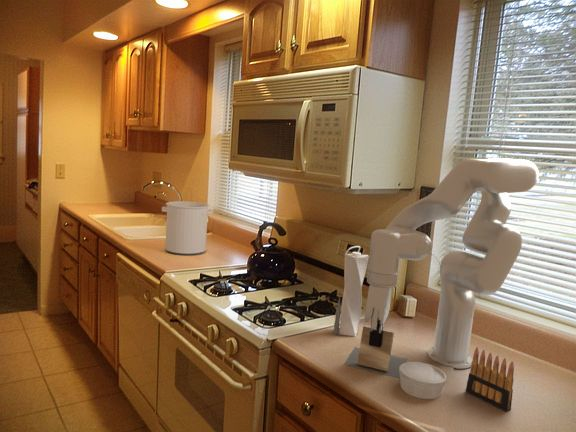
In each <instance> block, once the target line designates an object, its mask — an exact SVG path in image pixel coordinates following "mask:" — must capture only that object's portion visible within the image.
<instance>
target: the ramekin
mask: <svg viewBox="0 0 576 432" xmlns="http://www.w3.org/2000/svg"><path fill="white" fill-rule="evenodd" d="M399 373H400V378H399V379H400V380H399V382H400V383H399V384H400V388H401V389H402V391H404V392H405V393H406V394H408V395H409V396H412V397H414V398H418V399H422V400H423V399H424V400H435V399H437V398H439V397H440V396H441V395H442V392H443V389H444V387H445V384H446V383H447V379H448V377H447V374H446V373H445V372H444V371H443V370H442V369H440V368H439V367H437V366H435V365H432V364H429V363H426V362H421V361H406V363H403V364H401V365H400V367H399Z"/></svg>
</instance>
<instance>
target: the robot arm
mask: <svg viewBox="0 0 576 432" xmlns="http://www.w3.org/2000/svg"><path fill="white" fill-rule="evenodd" d="M538 169H539V168H538V167H537V165H536V164H535V163H534V162H532V161H530V160H527V159H517V158H505V157H504V158H502V157H500V158H499V157H490V158H486V159H484V158H465V159H461V160H460V161H459V162H457V163H456V164H455V165H454V167H452V169H451V170H450V171H449V173H447V175H446V176H445V177H444V178H443V179H442V180H441V182H440V183H439V184H438V185H437V186H436V187H435V188H434V189H433V191H432V192H431V193H430V194H428V195H427V196H425V197H423V198H421V199H418V200H416V201H415V202H414V203H411V204H410V205H408V206H406V207H405V208H404V209H402V210H401V211H399V212H398V214H396V216H395V217H394V218H393V219H392V220H391V221H390V222H389V224H388V225H387V227H386V228H384V229H382V228H381V229H376V230H374V231H372V233H371V237H370V246H369V247H370V249H369V255H368V256H369V258H368V265H367V278H366V283H368V284H369V286H368V292H367V298H366V305H365V313H364V318H363V319H364V320H363V321H364V322H365V323H368V322H369V321H370V327H371V330H370V337H369V345H370V346H375V347H379V348H380V347H381V346H382V340H383V330H384V326H385V322H386V320H387V318H388V316H389V314H390V308H391V301H392V299H391V297H392V290H393V288H395V287H397V283H398V274H399V266H400V265H399V263H400V260H409V261H422V260H424V259H426V258H428V257H429V255H430V254H431V253H432V249H433V243H432V239H431V238H430V237H429V236H428V235H427V234H426V233H424V232H422V231H418V230H416V229H418V228H420V227H421V226H423V225H425V224H427V223H431V222H435V221H439V220H444V219H449V218H452V217H454V216H456V215H457V214H458V213H459V212H460V210H461V209H462V208H463V207H464V205H465V204H466V203H467V202H468V201H469V200H470V198H472V196H473V195H474V194H475V193H477V192H481V193H480V194H481V195H480V197H481V198H480V202H479V205H478V206H477V208H476V210H475V212H474V213H473V216H472V217H471V219H470V221H469V222H468V224H467V226H466V228H465V230H464V232H463V235H462V238H461V239H462V240H461V241H462V244H463V245H464V247H465V248H466V249H468V250H470V251H472V252H474V253H478V254H481V255H485V256H484V257H480V256H478V255H476V254H472V253H469V252H464V251H459V250H453V251H449V252H448V253H446V254H445V255H444V256H443V257H442V259H441V262H440V265H439V275H440V276H439V277H440V292H439V293H440V294H439V303H438V308H437V309H438V311H437V319H436V325H435V326H436V327H435V333H434V342H433V346H432V347H430V348H428V350H427V353H426V354H427V356H428V357H429V359H431V360H432V361H434V362H435V363H438V364H440V365H442V366H447V367H451V368H453V369H457V370H458V369H459V370H463V369H469V368H471V363H472V360H473V357H472V356H471V355H470V354H469V350H470V345H471V336H472V328H473V323H474V314H475V308H476V297H475V294H477V295H480V296H481V295H482V296H485V297H487V296H493V295H494V294H496V293H497V292H498V291H499V290H500V289H501V287H502V286H503V284H504V283H505V280H506V279H507V277H508V275H509V273H510V271H511V269H512V268H513V265H514V264H515V262H516V260H517V259H518V257H519V254H520V253H521V249H522V244H523V241H522V240H523V238H522V235H521V232H520V230H518V228H516V227H514V226H513V225H510V224H507V221H508V219H509V218H510V215H511V212H512V202H511V199H510V196H509V194H514V193H515V194H516V193H523V192H527V191H530V190H531V189H532V188H534V186H535V185H536V184H537V182H538V180H539V170H538ZM474 293H475V294H474Z"/></svg>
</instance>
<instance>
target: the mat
mask: <svg viewBox="0 0 576 432" xmlns="http://www.w3.org/2000/svg"><path fill="white" fill-rule="evenodd" d="M359 350H360V347H356V346H354V348H353V350H352V351H351V353H350V354H349V356H348V357H347V359H346V360H345V361H344V363H343V365H345V366H348V367H352V368H355V369H360V370H364V371H367V372H372V373H376V374H379V375H380V374H381V375H385V376H388V377H391V378H396V379H400V373H399V367H400V365H401V364H403V363H406V362H408V358H404V357H400V356H395V355H392V354H391V357H390V363H389V370H388V371H384V370H380V369H376V368H372V367H368V366H364V365H359V364H357V362H358V356H359Z"/></svg>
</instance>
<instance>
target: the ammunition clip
mask: <svg viewBox="0 0 576 432" xmlns="http://www.w3.org/2000/svg"><path fill="white" fill-rule="evenodd" d="M479 355H480V357H479ZM472 359H473V360H472V363H471V367H470V369H469V372H468V376H467V383H466V388H465V393H467V394H469V395H471V396H472V397H475V398H477V399H479V400H480V401H484V402H486V403H487V404H490V405H491V406H493V407H496V408H497V409H500V410H502V411H503V412H506V413H508V412H510V411H511V410H512V400H513V390H514V388H513V384H514V373H515V365H514V364H515V363H514V361H510V363H509V366H508V369H507V359H506V357H504V358H503V360H502V362H501V365H500V357H499V355H498V354H497V355H496V356H495V358H494V361H493V355H492V352H489V354H488V355H487V358H486V350H485V349H483V350H482V351H481V353H480V352H479V348H478V346H477V347H476V348H475V350H474V353H473V357H472ZM492 364H493V365H492ZM499 367H500V369H499ZM506 373H507V374H506Z"/></svg>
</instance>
